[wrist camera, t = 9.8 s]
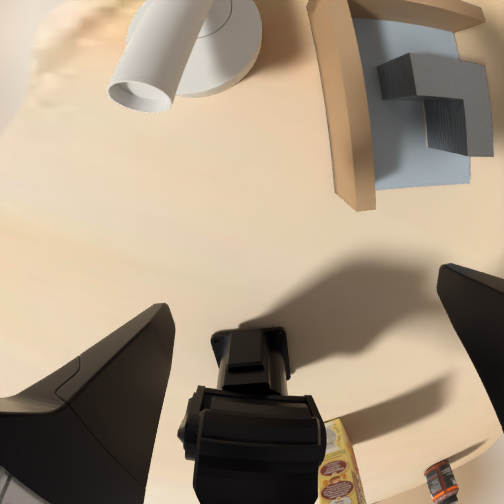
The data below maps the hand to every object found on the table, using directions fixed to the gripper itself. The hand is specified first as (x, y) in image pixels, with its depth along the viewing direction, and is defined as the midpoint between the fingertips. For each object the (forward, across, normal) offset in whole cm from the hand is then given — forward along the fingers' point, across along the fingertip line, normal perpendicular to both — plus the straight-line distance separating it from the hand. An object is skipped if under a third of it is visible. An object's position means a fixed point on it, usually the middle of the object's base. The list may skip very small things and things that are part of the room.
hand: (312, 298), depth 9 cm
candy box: (+13, -4, +31) cm, 34 cm away
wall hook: (+13, +4, -12) cm, 18 cm away
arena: (+13, -10, -7) cm, 18 cm away
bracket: (+12, -11, -6) cm, 17 cm away
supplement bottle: (+13, -29, +59) cm, 67 cm away
